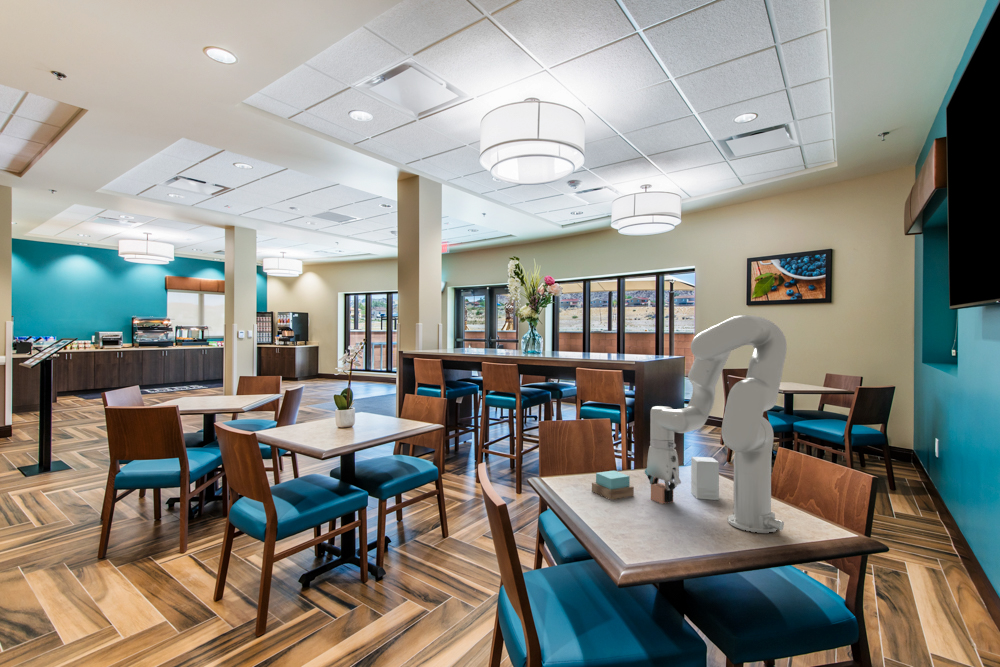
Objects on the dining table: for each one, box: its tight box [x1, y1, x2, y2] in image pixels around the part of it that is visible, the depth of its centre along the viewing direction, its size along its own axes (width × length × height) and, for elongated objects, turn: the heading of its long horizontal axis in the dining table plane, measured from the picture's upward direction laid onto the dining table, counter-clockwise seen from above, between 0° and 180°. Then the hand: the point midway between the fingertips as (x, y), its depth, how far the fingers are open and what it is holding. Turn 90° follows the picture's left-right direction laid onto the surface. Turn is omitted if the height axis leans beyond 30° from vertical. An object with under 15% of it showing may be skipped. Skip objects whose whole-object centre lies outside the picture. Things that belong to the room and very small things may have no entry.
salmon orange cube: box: [650, 482, 674, 505], centre depth 155 cm, size 5×5×5 cm
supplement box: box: [690, 456, 720, 501], centre depth 160 cm, size 7×7×13 cm
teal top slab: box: [595, 470, 631, 489], centre depth 162 cm, size 8×8×4 cm
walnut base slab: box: [591, 481, 635, 500], centre depth 162 cm, size 10×10×4 cm
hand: (661, 498), depth 155 cm, fingers closed on salmon orange cube, 5 cm apart
